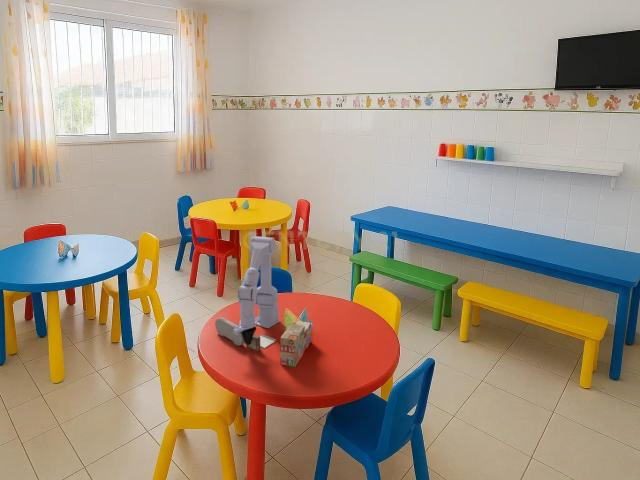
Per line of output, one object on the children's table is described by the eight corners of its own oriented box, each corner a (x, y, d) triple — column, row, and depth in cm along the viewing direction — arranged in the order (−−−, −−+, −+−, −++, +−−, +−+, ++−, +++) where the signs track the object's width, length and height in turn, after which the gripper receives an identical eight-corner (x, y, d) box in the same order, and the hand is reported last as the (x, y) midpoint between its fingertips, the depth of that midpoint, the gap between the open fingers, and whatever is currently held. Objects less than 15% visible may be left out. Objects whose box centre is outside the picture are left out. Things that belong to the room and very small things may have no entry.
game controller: (246, 346, 195) (246, 329, 193) (242, 348, 194) (241, 330, 191) (219, 330, 208) (219, 314, 206) (215, 332, 206) (214, 315, 204)
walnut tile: (249, 345, 196) (249, 332, 195) (260, 349, 193) (260, 336, 192) (246, 347, 195) (245, 334, 193) (257, 351, 192) (257, 338, 190)
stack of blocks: (297, 339, 202) (297, 314, 199) (310, 342, 201) (311, 316, 197) (279, 364, 183) (280, 336, 179) (294, 367, 181) (295, 339, 178)
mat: (261, 335, 205) (261, 334, 204) (276, 341, 200) (276, 339, 200) (249, 343, 198) (249, 341, 198) (264, 348, 194) (264, 347, 194)
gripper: (251, 305, 194) (252, 334, 198) (227, 317, 183) (228, 347, 187) (264, 309, 191) (264, 338, 195) (241, 322, 179) (241, 353, 183)
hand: (247, 343), depth 190 cm, fingers closed
